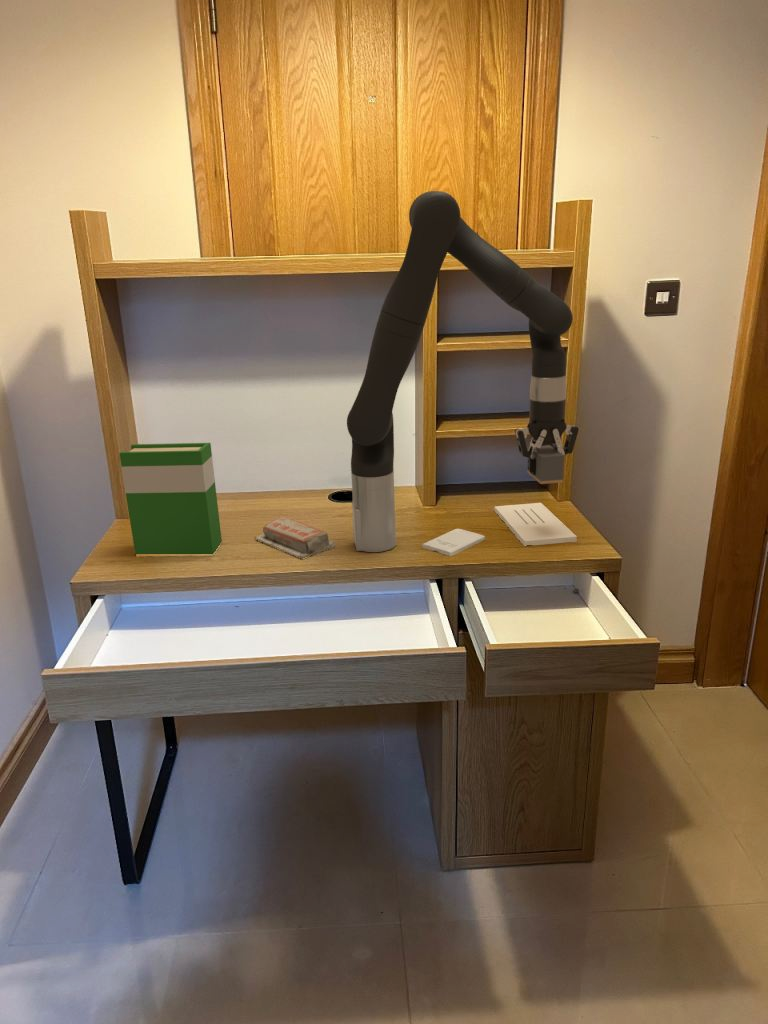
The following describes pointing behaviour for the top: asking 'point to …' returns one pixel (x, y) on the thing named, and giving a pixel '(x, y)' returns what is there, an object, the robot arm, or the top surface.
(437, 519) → the top surface
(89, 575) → the top surface
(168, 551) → the hardback book
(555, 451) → the block
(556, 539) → the board
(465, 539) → the external hard drive
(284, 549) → the packaged product
